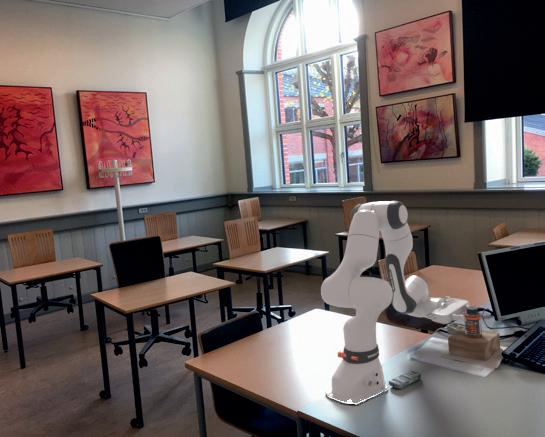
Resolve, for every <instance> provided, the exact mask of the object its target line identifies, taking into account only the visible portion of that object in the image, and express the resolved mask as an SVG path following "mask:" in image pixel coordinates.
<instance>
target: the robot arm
mask: <svg viewBox="0 0 545 437" xmlns="http://www.w3.org/2000/svg"><path fill="white" fill-rule="evenodd" d="M408 218H409V212H408V208H407V206H406V205H405V204H404V203H403V202H402V201H398V200H391V201H388V200H387V201H386V200H384V201H372V202H366V203H359V204H357V205H355V206H354V207H353V208H352V210H351V212H350V224H349V225H350V226H349V229H348V234H347V240H346V246H345V251H344V255H343V259H342V261H341V263H340V264H339V266H338V267H337V268H336V270H335V271H334V272H333V273H332V274H331V275H330V276H328V277H326V278H325V279H324V280H323V281H322V284H321V286H320V295H321V298H322V300H323V302H324V303H326V304H327V305H331V306H333V307H337V308H346V309H347V308H349V309H355V316H352V317H350V318H349V319H347V320H346V322H345V323H344V324H343V329H342V330H343V339H344V346H343V352H342V351H340V350H339V351H338V352H337V358H341V359H342V360H341V362H340V363H339V365H338V367H337V369H336V370H335V372H334V373H333V375H332V377H331V386H330V387H329V388H328V389H327V390H326V391H325V395H326V394H327V395H328V396H330V397H332V398H335V399H337V400H340V401H344V402H347V400H349V399H351V400H352V402H353V403H358V402H360V401H362V400H364V399H367V398H369V397H371V396H373V395H376V394H378V393H380V392H382V391H385V390H387V389H388V390H389V388H388V385H387V384H386V380H385V375H384V370H383V366H382V364H381V361H380V359H379V356H380V348H379V344H378V343H377V321H378V318H379V317H380V315H381V313H382V312H384V310H386V309H388V307H389V306H390V304H391V305H392V307H393V309H394V310H395V311H396V312H398V313H399V314H403V315H409V316H411V317H416V318H426V319H429V320H431V321H432V322H434V323H439V324H442V325H448V324H450V323H451V322H453V321H464V322H465V319H466V315H464V314H465V313H466V312H467V307H469V306H471V305H470V301H468V300H466V299H461V298H455V297H454V298H453V297H452V298H451V296H447V295H446V296H440V297H431V296H429V294H430V290H429V285H428V283H427V281H426V279H425V278H423V277H422V276H420V275H414V274H413V275H409V276H408V278H406V280H405V275H404V268H405V264H406V262H407V260H408V257H409V256H410V254H411V252H412V250H413V245H414V243H413V242H414V241H413V240H414V239H413V235H412V232H411V228H410V226H409V224H408ZM380 233H381V237H382V240H383V245H384V251H385V268H386V273H387V277H388V278H387V279H388V280H385V279H383V278H382V279H381V278H378V277H371V276H362V273H364V272H365V271H366V270H368V269H370V268H371V267H373V266H374V265H375V263H376V262H377V257H378V250H379V249H378V248H379V240H380ZM330 394H333V395H330ZM360 399H361V400H360Z"/></svg>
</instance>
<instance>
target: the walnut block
mask: <svg viewBox="0 0 545 437" xmlns="http://www.w3.org/2000/svg"><path fill="white" fill-rule="evenodd" d="M500 338H501V337H500V332H495V331H490V330H485V329H482V336H481V337H479V338H470V337H467V336H466V333H465V326H463V327H462V328H460V329H459V330H457V331H456V332H455V333H453V334H452V335H450V336H449V337H448V338H447V343H448V344H447V345H448V346H447V347H448V353H449V352H450V353H449V354H452V353H455V354H454V355H456V354H459V355H458V356H461V355H463V356H462V357H466V356H467V357H466V358H471V359H476V360H480V361H484V362H485V361H487V360H488V358H490V357H491V356H493V355H494V354H495V353H496V352H497V351H499V350H500V349H501V341H500ZM496 350H497V351H496ZM495 351H496V352H495ZM494 352H495V353H494ZM493 353H494V354H493Z"/></svg>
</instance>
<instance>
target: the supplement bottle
mask: <svg viewBox="0 0 545 437" xmlns="http://www.w3.org/2000/svg"><path fill="white" fill-rule="evenodd" d="M463 315H466V319H465V320H464V327H465V333H466V336H467V337H470V338H479V337H481V336H482V330H483V329H482V314H481V313H480V312H479V308H478V307H477V306H473V305H470V306H469V307H467V312H465V313H464V314H463Z"/></svg>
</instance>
